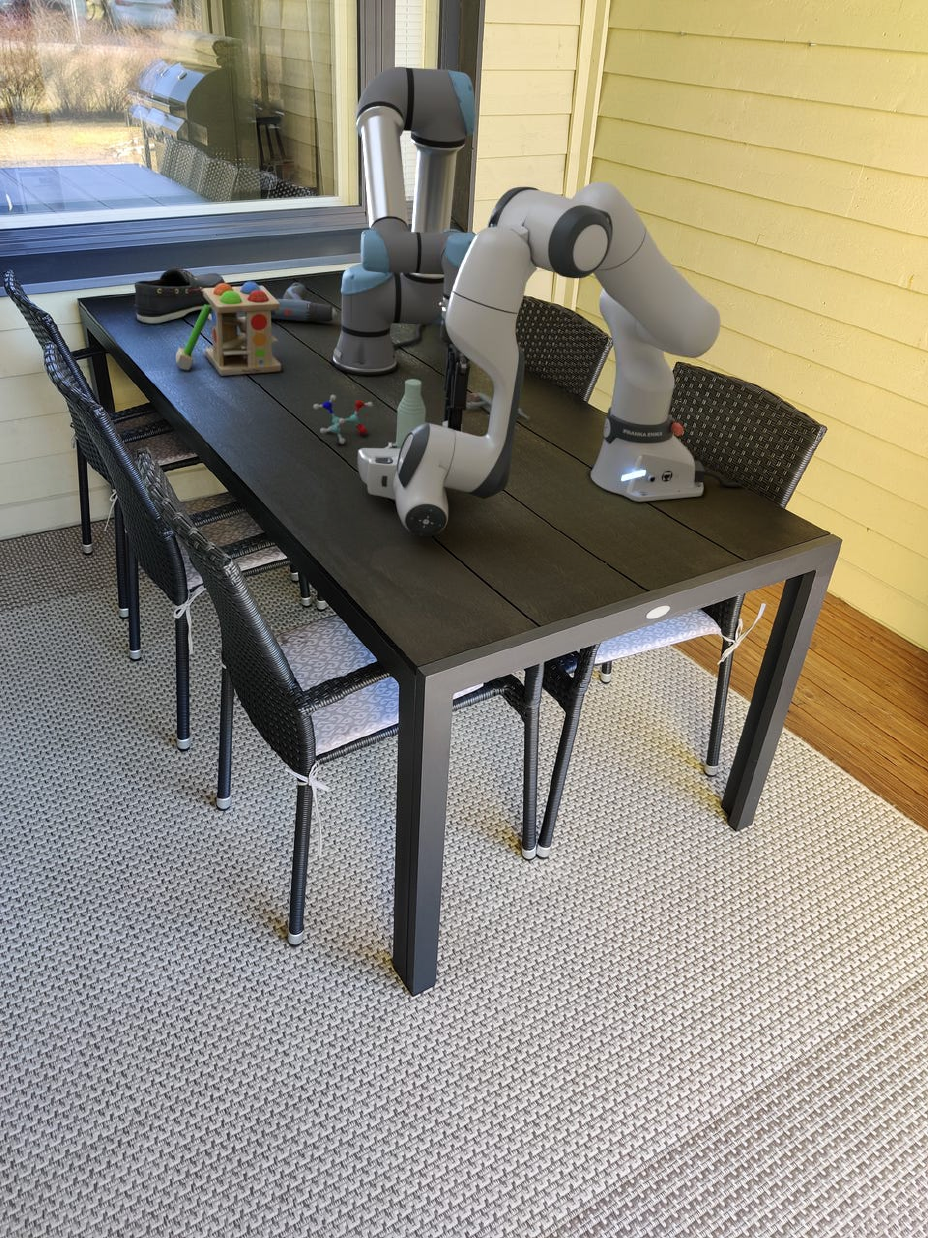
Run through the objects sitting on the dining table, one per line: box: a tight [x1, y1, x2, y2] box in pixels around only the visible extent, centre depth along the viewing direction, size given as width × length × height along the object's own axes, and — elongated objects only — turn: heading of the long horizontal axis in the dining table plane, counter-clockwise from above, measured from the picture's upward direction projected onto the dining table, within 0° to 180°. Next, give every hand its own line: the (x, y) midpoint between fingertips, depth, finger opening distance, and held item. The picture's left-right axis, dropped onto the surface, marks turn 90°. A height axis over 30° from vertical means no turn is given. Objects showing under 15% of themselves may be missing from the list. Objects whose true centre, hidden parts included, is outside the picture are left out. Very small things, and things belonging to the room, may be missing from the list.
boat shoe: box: [133, 267, 226, 324], centre depth 260 cm, size 13×33×10 cm, turn 147°
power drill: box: [271, 282, 338, 322], centre depth 265 cm, size 5×19×20 cm
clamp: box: [466, 391, 531, 421], centre depth 219 cm, size 15×2×10 cm
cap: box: [441, 421, 463, 432], centre depth 200 cm, size 4×4×2 cm
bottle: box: [395, 378, 427, 449], centre depth 184 cm, size 5×5×19 cm
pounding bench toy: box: [174, 281, 282, 377], centre depth 225 cm, size 23×14×18 cm, turn 116°
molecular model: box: [312, 394, 374, 445], centre depth 201 cm, size 12×10×10 cm
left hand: (451, 433), depth 201 cm, fingers closed on cap, 4 cm apart
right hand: (408, 446), depth 187 cm, fingers closed on bottle, 5 cm apart
